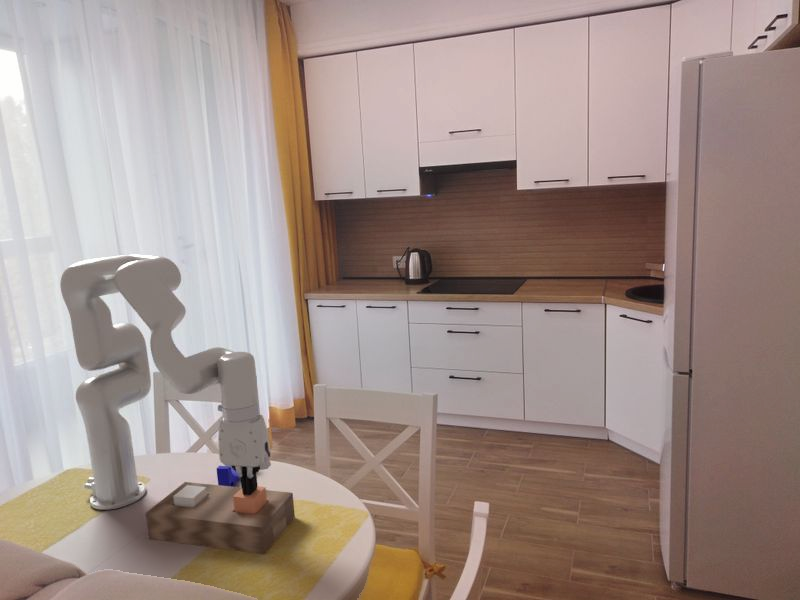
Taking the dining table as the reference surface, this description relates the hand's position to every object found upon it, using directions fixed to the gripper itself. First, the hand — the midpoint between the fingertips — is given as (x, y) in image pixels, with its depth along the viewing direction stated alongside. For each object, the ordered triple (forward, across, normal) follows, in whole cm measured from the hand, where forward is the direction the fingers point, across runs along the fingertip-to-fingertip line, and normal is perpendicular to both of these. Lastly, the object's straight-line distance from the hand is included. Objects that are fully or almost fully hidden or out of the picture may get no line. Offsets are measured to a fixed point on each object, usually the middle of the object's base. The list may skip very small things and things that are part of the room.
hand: (250, 491), depth 127 cm
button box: (+9, -8, 0) cm, 12 cm away
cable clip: (+10, -18, +21) cm, 29 cm away
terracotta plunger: (+8, 0, 0) cm, 8 cm away
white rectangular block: (+9, -15, 0) cm, 18 cm away
